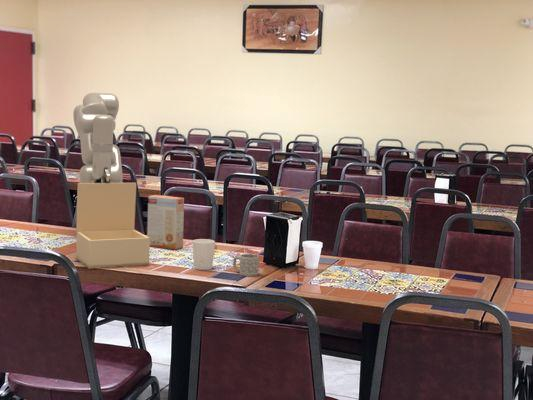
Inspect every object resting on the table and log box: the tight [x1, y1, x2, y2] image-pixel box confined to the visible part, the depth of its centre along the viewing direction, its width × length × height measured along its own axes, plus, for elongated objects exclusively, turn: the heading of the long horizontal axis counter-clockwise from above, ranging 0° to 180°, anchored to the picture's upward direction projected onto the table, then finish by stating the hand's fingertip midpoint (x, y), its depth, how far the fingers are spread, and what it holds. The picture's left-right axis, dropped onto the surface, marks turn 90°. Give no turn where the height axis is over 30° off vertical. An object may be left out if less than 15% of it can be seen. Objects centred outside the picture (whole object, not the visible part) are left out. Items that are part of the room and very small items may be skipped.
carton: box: [75, 229, 151, 270], centre depth 280 cm, size 18×22×10 cm
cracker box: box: [146, 194, 185, 251], centre depth 311 cm, size 14×6×21 cm, turn 63°
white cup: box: [192, 238, 216, 271], centre depth 276 cm, size 8×8×10 cm
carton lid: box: [75, 182, 137, 233], centre depth 288 cm, size 18×22×6 cm
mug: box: [232, 253, 260, 277], centre depth 271 cm, size 10×7×7 cm, turn 59°
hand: (101, 193), depth 291 cm, fingers open, 8 cm apart
